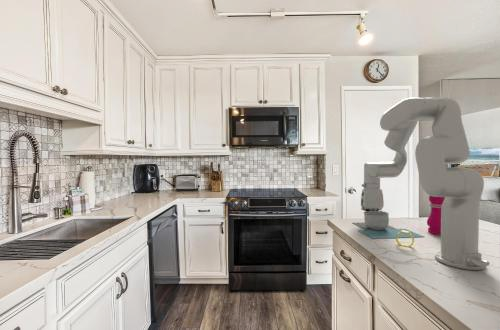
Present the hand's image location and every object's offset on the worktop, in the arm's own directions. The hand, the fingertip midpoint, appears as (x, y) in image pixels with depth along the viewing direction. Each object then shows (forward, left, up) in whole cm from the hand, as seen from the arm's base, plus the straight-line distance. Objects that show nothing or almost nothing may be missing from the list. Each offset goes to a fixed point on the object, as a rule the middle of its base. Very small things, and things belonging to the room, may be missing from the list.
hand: (371, 221), depth 127 cm
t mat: (-8, 0, -2) cm, 8 cm away
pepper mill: (-16, -22, -2) cm, 27 cm away
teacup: (-6, +1, -2) cm, 7 cm away
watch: (-30, +4, -2) cm, 30 cm away
